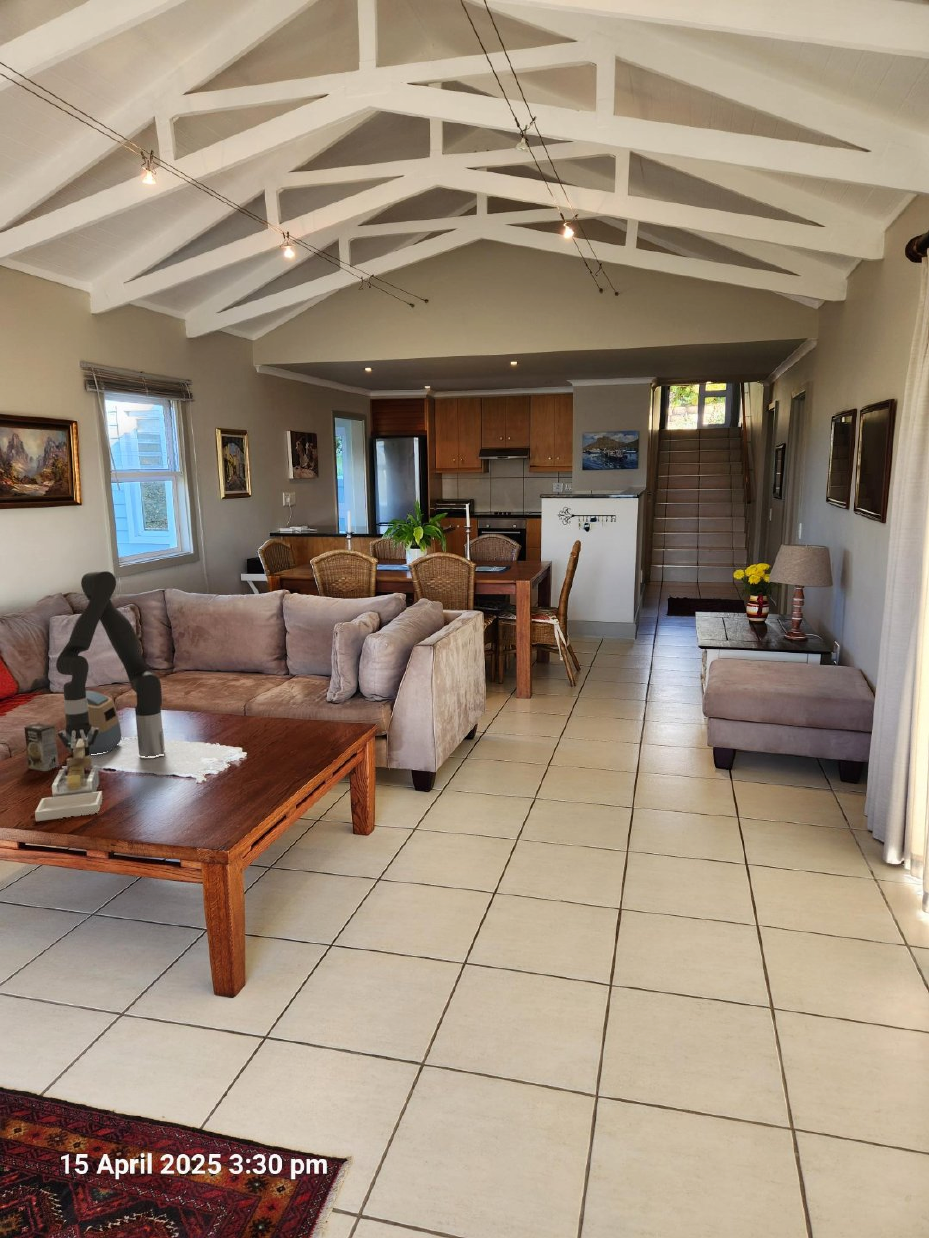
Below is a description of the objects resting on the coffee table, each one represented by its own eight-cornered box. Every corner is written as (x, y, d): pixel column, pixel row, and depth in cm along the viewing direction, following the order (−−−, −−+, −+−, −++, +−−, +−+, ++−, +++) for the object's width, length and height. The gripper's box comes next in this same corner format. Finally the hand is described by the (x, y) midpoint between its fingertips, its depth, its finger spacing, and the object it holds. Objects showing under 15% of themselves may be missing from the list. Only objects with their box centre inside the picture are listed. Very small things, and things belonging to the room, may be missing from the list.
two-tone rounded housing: (106, 757, 309) (100, 699, 305) (64, 757, 310) (58, 699, 306) (125, 743, 326) (120, 688, 322) (85, 743, 326) (79, 688, 322)
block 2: (82, 781, 273) (81, 770, 272) (80, 785, 269) (79, 774, 268) (69, 783, 271) (68, 771, 271) (67, 787, 268) (66, 775, 267)
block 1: (84, 776, 277) (83, 765, 277) (83, 780, 274) (81, 769, 273) (72, 778, 276) (70, 767, 275) (70, 782, 272) (69, 770, 272)
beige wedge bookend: (67, 770, 279) (65, 751, 278) (74, 757, 292) (72, 739, 291) (91, 768, 281) (89, 749, 280) (96, 755, 294) (94, 737, 293)
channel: (99, 782, 282) (97, 765, 281) (93, 799, 267) (91, 781, 266) (61, 787, 278) (60, 769, 277) (53, 804, 263) (51, 785, 262)
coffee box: (27, 768, 298) (23, 727, 295) (43, 762, 304) (38, 722, 301) (44, 771, 294) (39, 729, 291) (59, 766, 300) (55, 724, 297)
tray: (102, 799, 267) (101, 791, 266) (98, 813, 256) (97, 804, 255) (43, 806, 262) (42, 798, 261) (35, 821, 250) (34, 812, 250)
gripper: (99, 705, 288) (103, 751, 291) (56, 709, 284) (61, 755, 287) (96, 711, 281) (101, 757, 284) (52, 715, 277) (57, 762, 280)
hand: (81, 756), depth 285 cm, fingers closed on beige wedge bookend, 3 cm apart
